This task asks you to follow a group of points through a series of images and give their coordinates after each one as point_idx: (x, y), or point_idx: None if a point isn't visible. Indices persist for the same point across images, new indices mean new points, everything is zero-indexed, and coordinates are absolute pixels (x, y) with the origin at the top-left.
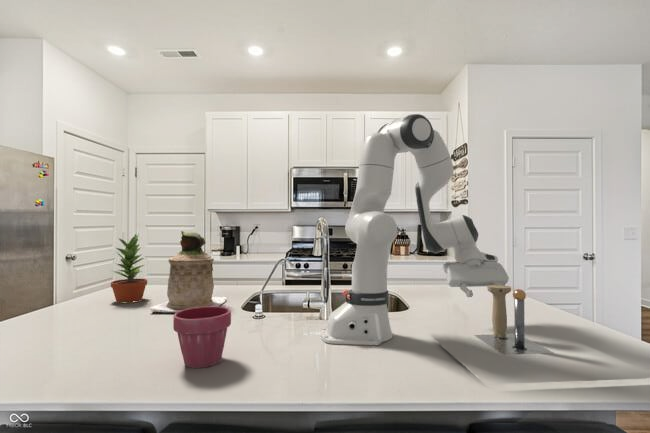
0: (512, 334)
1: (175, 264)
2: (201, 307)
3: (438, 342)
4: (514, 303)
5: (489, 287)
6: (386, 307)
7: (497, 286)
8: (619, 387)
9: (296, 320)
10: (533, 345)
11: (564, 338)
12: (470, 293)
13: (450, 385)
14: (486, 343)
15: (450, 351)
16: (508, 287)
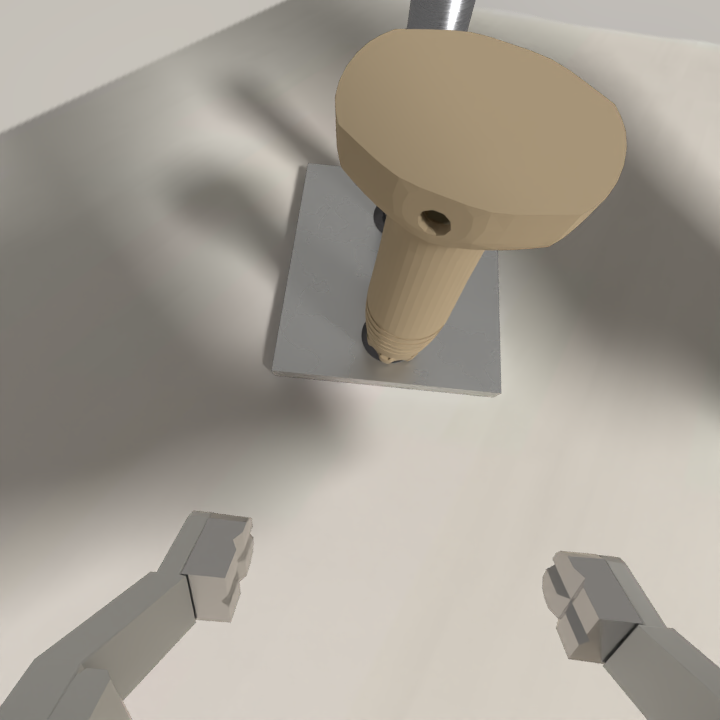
0: (305, 366)
1: None
2: None
3: (671, 385)
4: (470, 12)
5: (617, 121)
6: None
7: (494, 126)
8: (312, 23)
9: None
10: (323, 230)
11: (68, 329)
12: (602, 562)
13: (710, 94)
14: (497, 284)
15: (647, 284)
16: (399, 47)
